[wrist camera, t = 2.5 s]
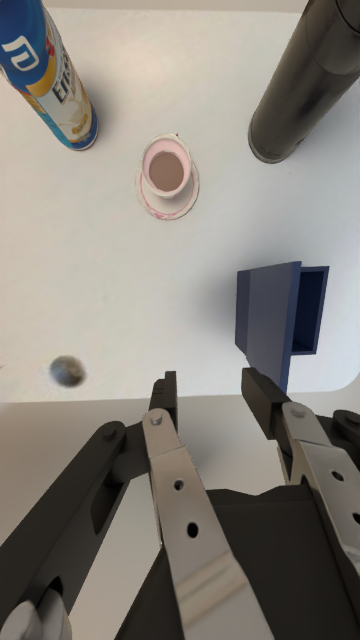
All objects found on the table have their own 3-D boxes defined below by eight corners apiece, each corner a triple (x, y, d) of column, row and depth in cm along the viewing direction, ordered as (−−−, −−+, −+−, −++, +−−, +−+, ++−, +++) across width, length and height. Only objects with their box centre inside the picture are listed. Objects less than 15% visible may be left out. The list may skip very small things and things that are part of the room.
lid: (302, 261, 15) (292, 261, 15) (284, 417, 19) (276, 416, 19) (255, 269, 29) (250, 269, 29) (250, 358, 33) (246, 358, 33)
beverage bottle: (49, 91, 29) (-204, -283, 10) (99, 97, 30) (-49, -254, 10) (53, 150, 31) (-150, -63, 12) (101, 155, 32) (-20, -44, 12)
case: (300, 268, 37) (329, 266, 30) (291, 341, 41) (316, 354, 34) (237, 271, 37) (252, 269, 30) (234, 344, 41) (247, 357, 34)
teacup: (185, 230, 35) (187, 219, 29) (128, 206, 34) (117, 190, 27) (208, 164, 32) (215, 137, 26) (146, 136, 31) (139, 102, 25)
